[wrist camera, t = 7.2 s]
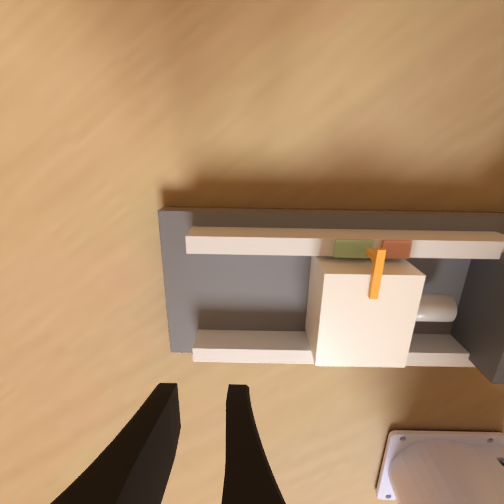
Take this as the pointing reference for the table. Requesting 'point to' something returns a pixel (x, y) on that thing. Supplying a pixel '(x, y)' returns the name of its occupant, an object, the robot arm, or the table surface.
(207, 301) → the gauge base
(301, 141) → the table surface
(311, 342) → the gauge carriage
